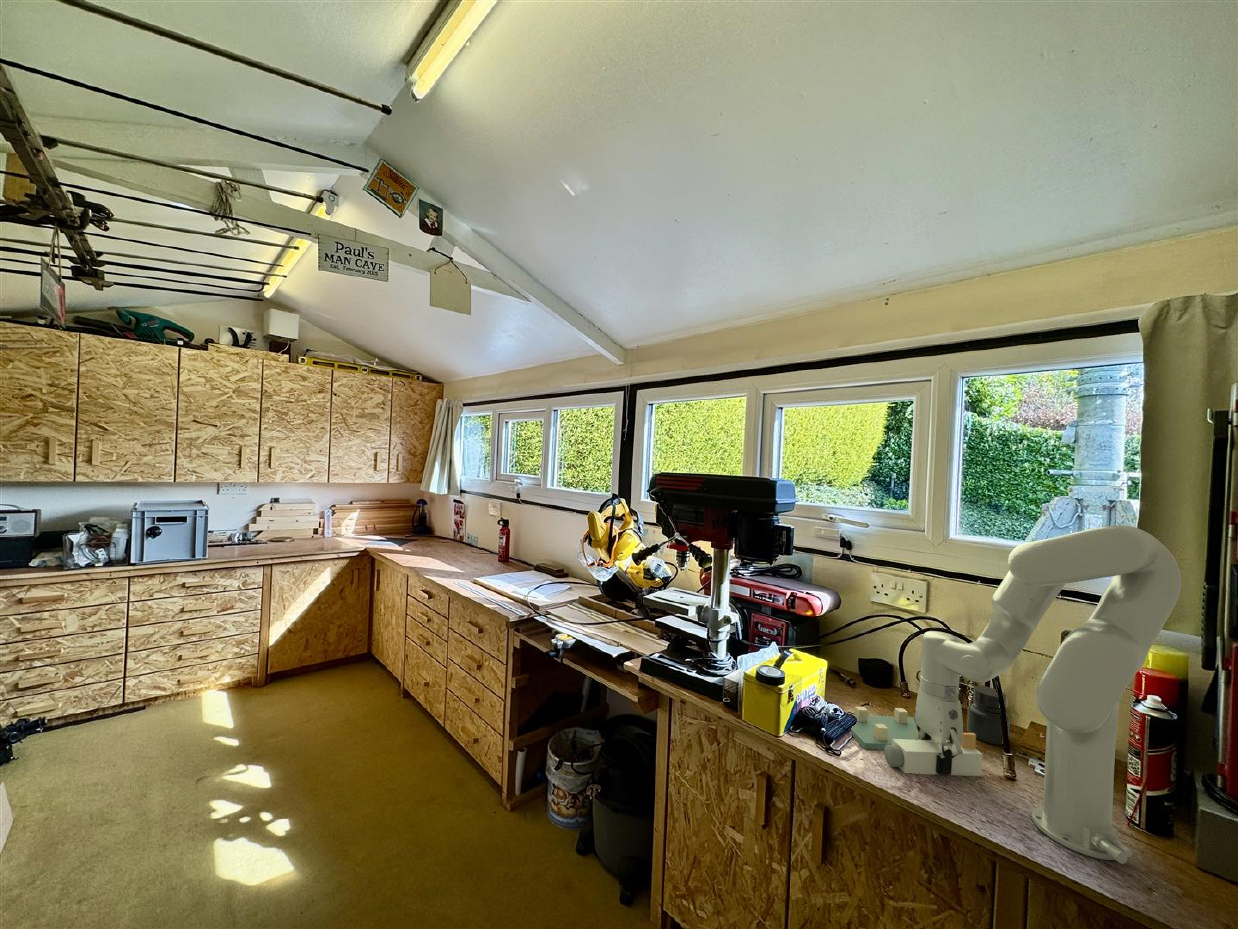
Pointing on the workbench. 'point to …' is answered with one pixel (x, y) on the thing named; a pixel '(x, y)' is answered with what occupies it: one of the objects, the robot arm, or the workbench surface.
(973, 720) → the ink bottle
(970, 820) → the workbench surface
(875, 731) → the jig
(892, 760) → the block with grey endcap
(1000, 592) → the robot arm
